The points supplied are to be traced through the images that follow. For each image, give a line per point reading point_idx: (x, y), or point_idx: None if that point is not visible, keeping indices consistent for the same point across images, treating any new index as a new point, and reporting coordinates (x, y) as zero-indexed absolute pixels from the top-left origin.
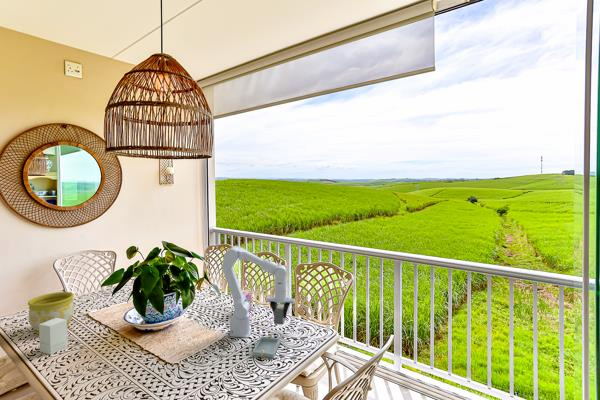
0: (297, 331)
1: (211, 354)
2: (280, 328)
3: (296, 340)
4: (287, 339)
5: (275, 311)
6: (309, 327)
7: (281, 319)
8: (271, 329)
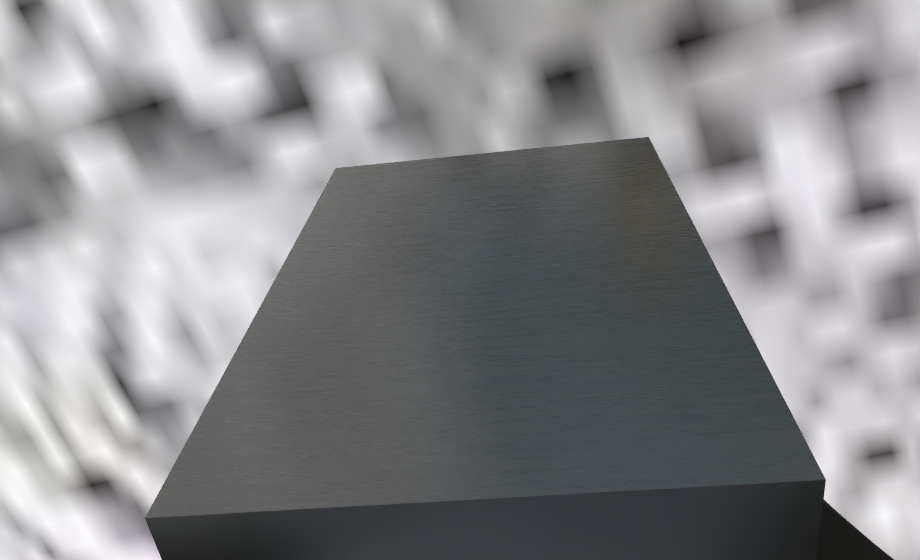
0: None
1: None
2: None
3: (92, 63)
4: (284, 49)
5: (680, 407)
6: (102, 532)
7: (358, 232)
8: None
